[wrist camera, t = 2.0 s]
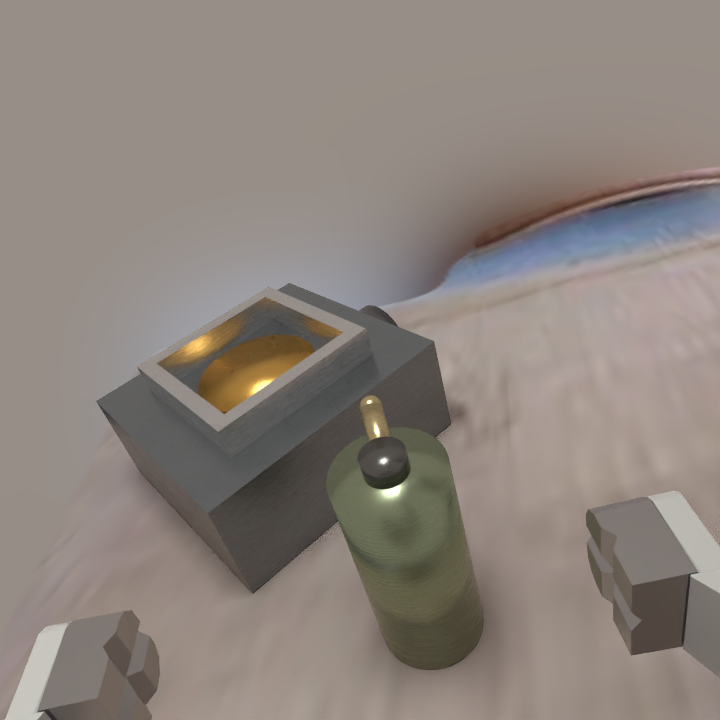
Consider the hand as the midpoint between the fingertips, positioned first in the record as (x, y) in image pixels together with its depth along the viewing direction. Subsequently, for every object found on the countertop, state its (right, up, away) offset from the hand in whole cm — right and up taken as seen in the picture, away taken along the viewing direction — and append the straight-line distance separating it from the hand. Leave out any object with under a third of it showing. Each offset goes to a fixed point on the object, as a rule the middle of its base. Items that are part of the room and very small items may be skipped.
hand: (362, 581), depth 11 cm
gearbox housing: (-5, -2, +35) cm, 35 cm away
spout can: (+4, -9, +21) cm, 24 cm away
